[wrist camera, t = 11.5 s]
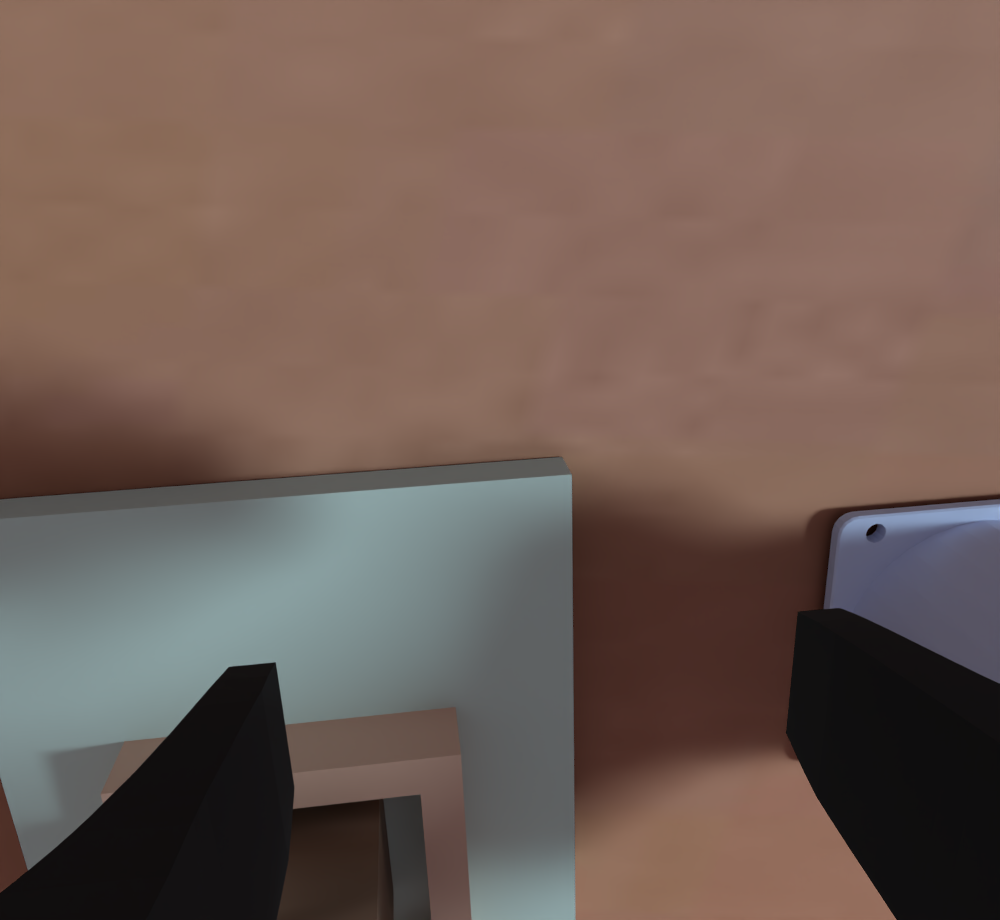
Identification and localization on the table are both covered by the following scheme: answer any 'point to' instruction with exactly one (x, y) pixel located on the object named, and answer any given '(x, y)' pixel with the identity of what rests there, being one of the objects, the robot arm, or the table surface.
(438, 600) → the dock board
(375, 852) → the spigot block
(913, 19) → the table surface
